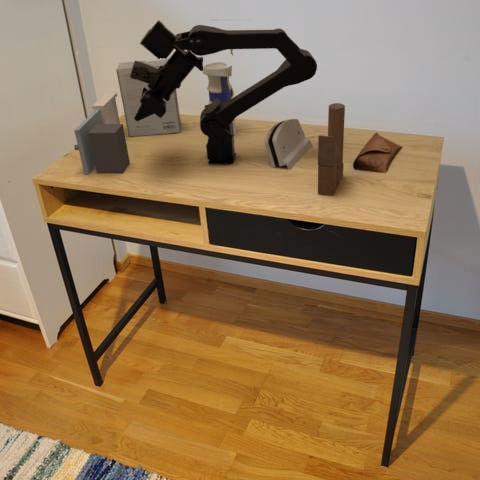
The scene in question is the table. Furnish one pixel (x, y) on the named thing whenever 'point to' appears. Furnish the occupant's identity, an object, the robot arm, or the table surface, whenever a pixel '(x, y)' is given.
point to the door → (87, 140)
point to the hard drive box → (131, 104)
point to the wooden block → (331, 151)
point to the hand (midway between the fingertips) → (135, 119)
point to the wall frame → (108, 108)
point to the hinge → (286, 143)
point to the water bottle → (220, 84)
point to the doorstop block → (109, 148)
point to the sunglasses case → (376, 155)
